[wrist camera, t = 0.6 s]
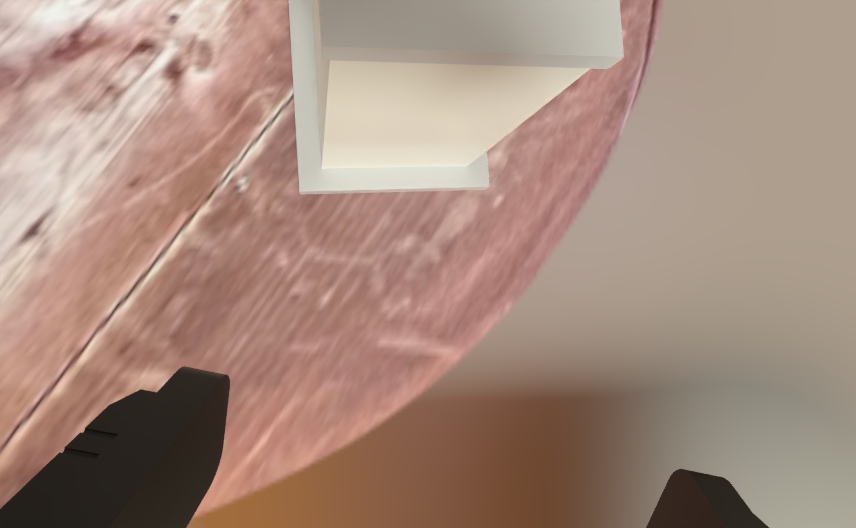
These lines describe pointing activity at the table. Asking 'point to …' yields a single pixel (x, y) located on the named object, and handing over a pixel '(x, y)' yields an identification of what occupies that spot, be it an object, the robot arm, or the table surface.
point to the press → (430, 84)
